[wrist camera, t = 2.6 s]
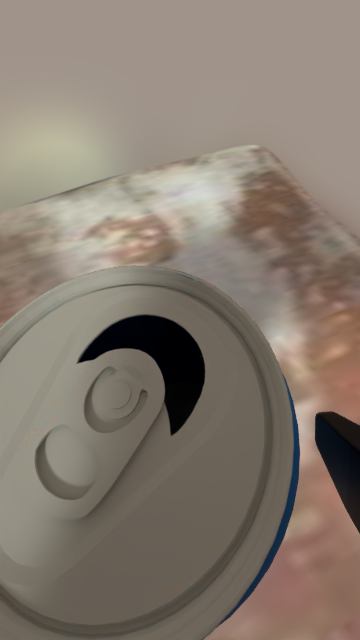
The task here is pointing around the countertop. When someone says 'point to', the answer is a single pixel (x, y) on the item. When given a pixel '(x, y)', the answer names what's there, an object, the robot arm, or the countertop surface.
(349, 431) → the robot arm
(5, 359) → the beverage can
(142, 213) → the countertop surface
